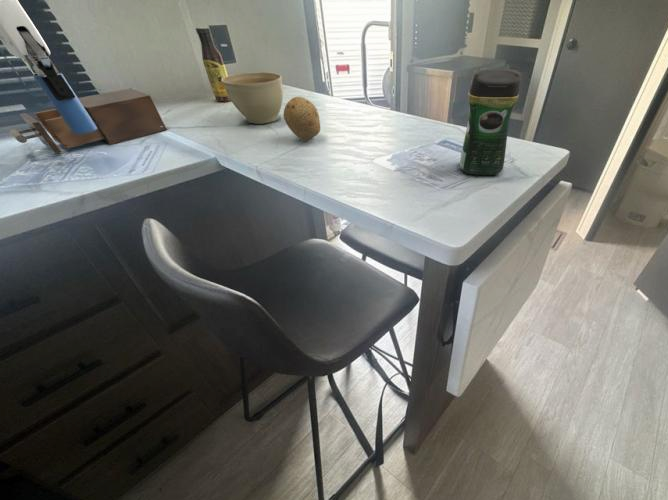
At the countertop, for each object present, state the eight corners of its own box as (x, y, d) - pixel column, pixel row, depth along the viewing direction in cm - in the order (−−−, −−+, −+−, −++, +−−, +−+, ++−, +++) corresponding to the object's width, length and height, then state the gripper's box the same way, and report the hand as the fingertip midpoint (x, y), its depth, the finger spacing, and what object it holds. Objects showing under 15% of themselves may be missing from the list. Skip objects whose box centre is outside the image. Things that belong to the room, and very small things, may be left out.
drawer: (33, 159, 74) (7, 128, 69) (21, 148, 79) (-4, 118, 74) (117, 138, 84) (99, 109, 79) (101, 129, 89) (83, 101, 84)
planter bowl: (290, 126, 92) (280, 82, 85) (232, 130, 90) (216, 85, 82) (290, 110, 103) (281, 70, 96) (239, 113, 101) (225, 72, 93)
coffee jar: (499, 162, 74) (520, 65, 60) (503, 177, 68) (528, 74, 55) (458, 161, 74) (470, 64, 61) (459, 175, 69) (472, 73, 55)
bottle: (77, 135, 69) (30, 69, 61) (70, 131, 71) (24, 66, 63) (100, 129, 72) (58, 65, 63) (93, 125, 74) (52, 62, 65)
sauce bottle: (212, 101, 111) (184, 27, 96) (223, 97, 115) (198, 25, 101) (229, 103, 110) (203, 28, 95) (239, 98, 114) (216, 26, 100)
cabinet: (110, 144, 83) (87, 107, 77) (93, 134, 88) (70, 99, 82) (167, 129, 91) (149, 95, 85) (148, 121, 96) (130, 88, 90)
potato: (292, 134, 88) (282, 92, 80) (324, 133, 88) (317, 91, 81) (287, 146, 81) (276, 102, 74) (322, 145, 82) (314, 101, 75)
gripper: (-60, -26, 55) (30, 94, 68) (-44, -27, 48) (53, 108, 61) (-4, -26, 59) (70, 87, 72) (19, -28, 52) (97, 99, 65)
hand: (61, 96), depth 67 cm, fingers closed on bottle, 4 cm apart
